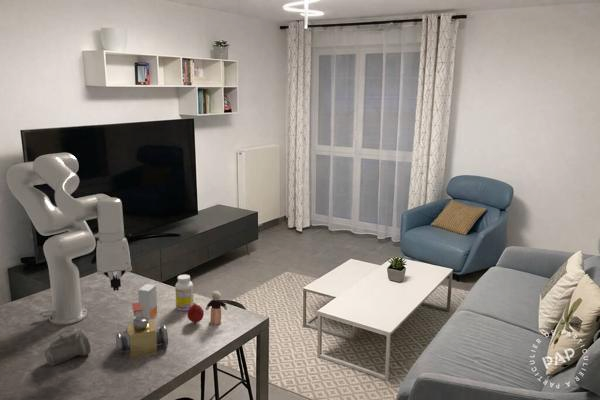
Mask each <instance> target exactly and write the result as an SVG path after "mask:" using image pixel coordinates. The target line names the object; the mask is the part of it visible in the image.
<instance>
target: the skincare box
mask: <svg viewBox="0 0 600 400" xmlns="http://www.w3.org/2000/svg"><path fill="white" fill-rule="evenodd" d="M157 293H158V292H157V284H152V283H146V284H144V285H143V286H141V287H140V288H139V289H138V293H137V294H138V303H139V302H140V305H141V308H142V315H143V317H147V318H148V320H151V319H152V320H153V319H154V318H155V317H156V316H157V315H158V302H157V301H158V299H157V298H158V297H157Z"/></svg>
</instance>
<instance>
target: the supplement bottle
mask: <svg viewBox="0 0 600 400" xmlns="http://www.w3.org/2000/svg"><path fill="white" fill-rule="evenodd" d="M193 283H194V282H192V281H191V276H190V274H180V275H178V276H177V282H176V283H175V306H176V309H177V310H178V311H184V312H185V311H186V312H187V311H188V310H189V308H190V307H191V306H193V304H194V303H195V302H194V300H195V299H194V284H193Z"/></svg>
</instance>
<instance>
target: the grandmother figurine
mask: <svg viewBox="0 0 600 400" xmlns="http://www.w3.org/2000/svg"><path fill="white" fill-rule="evenodd" d="M221 296H222V294H221V293H220V291H218V290H214V291H212V293H211V297H212V299H211V300H210V301H208V303H207V305H206V307H205V310H206V311H208V310H209V308H210V316H209V317H210V321H209V322H208V325H210V326H213V325H216V326H220V325H221V324H222V322H221V321H222V308H221V307H223V308H224V310H225V311H227V310H228V307H227V305H226V303H225V302H224V301H222V300H220V298H221Z"/></svg>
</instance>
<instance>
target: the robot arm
mask: <svg viewBox="0 0 600 400" xmlns="http://www.w3.org/2000/svg"><path fill="white" fill-rule="evenodd" d="M79 168H80V167H79V161H78V159H77V158H76V156H74V155H73V154H72V153H69V152H57V153H48V154H44V155H40V156H38V157H36V158H35V159H34V160H33V161H25V162H22V163H17V164H14V165H11V167H9V168H8V170H7V171H6V182H7V186H8V188H9V190H10V192H11V194H12V195H13V196H14V197H15V199H16V200H17V201H18V202H19V203H20V204H21V206H22V207H23V208H24V210H25V212H26V214H27V215H28V218H29V219H30V220H31V223H32V224H33V226H34V228H35V230H36V231H37V232H38V234H39V235H42V236H45V237H46V236H51V235H52V236H51V237H48V239H47V240H45V242H44V244H43V246H42V247H43V248H42V249H43V254H44V257H45V259H46V263H47V266H48V267H47V269H48V274H49V282H50V283H49V284H50V294H51V307H48V308H46V309H44V308H43V309H39V311H38V313H39V316H42V318H45V317H48V320H49V322H50V323H51V324H53V325H58V326H59V325H60V326H61V325H62V326H63V325H71V324H74V323H78V322H80V321H82V320H83V319H85V318H86V317H87V315H88V310H87V309H86V308H84V307H83V306H82V305H83V304H82V293H81V281H80V271H79V268H78V267H77V265H76V264H75V263H73V261H72V259H75V258H78V257H81V256H84V255H85V256H86V255H87V254H90V253H92V252H94V250H95V248H96V254H95V255H96V256H95V257H96V269H97V271H96V273H97V275H104V276H105V277H107V278H108V279H109V280H110V288H111V289H113V292H115V291H119V290H120V287H122V286H121V285H122V283H121V282H122V281H121V278H122V277H123V275H124V274H125V273H130V272H131V271H133V267H132V264H131V255H130V254H131V252H130V247H129V243H128V242H129V241H128V239H127V238H126V237H125V229H124V228H125V227H124V214H123V204H122V203H123V202H122V200H121V199H120V198H118V197H111V196H109V195H107V194H104V193H96V194H92V195H86V196H82V197H78V198H77V197H76V198H74V197H73V196H72V194H73V193H74V192H75V191H76V190H77V189H78V187H79V185H80V178H79V176H78V174H77V173H78V171H79ZM44 184H47V185H48V186H49V187H50V188H51V189H52V190H54V201H55V204H56V206H55V205H54V204H53V203H52V202H51V200H50V198H49V196H47V194H46V193H45V192H43V191H42V190H40V189H38V188H36V187H34V186H37V185H44ZM93 219H97V226H98V232H97V233H93V231H92V230H91V228H90V226H89V225H88V223H87V221H89V220H93ZM96 239H98V240H97V241H96ZM114 272H117V273H116V275H115V274H114Z"/></svg>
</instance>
